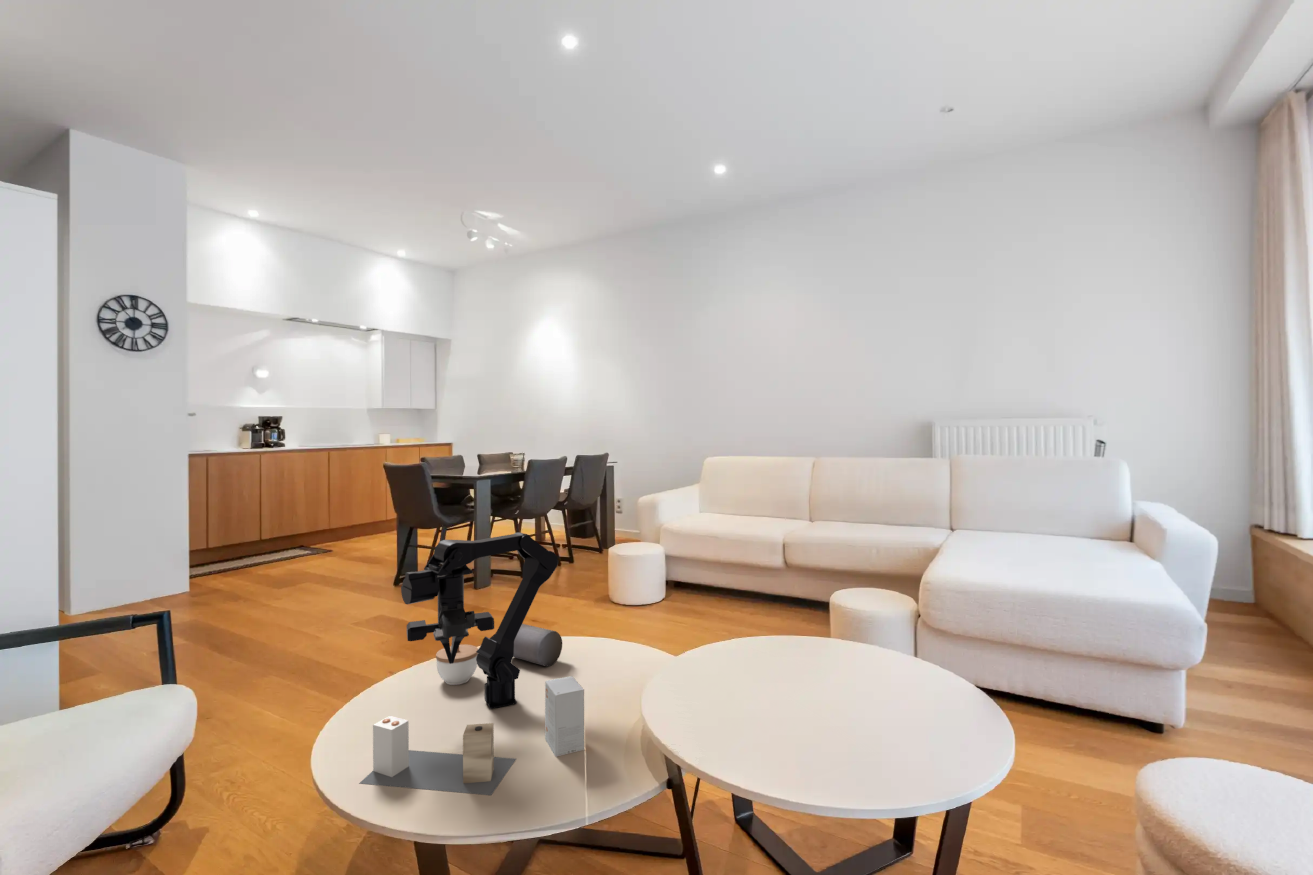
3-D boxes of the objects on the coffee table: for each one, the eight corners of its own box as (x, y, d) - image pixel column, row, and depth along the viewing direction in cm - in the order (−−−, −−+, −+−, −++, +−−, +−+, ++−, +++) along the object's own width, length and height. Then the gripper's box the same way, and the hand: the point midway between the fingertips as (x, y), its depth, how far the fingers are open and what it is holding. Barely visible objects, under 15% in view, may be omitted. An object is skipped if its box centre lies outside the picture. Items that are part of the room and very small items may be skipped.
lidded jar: (458, 669, 164) (458, 635, 164) (486, 676, 159) (486, 642, 159) (427, 683, 155) (426, 648, 155) (456, 691, 150) (456, 655, 150)
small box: (585, 752, 121) (584, 689, 121) (555, 759, 118) (554, 695, 118) (573, 734, 128) (572, 674, 128) (544, 740, 126) (544, 680, 125)
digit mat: (516, 761, 118) (516, 758, 118) (491, 798, 106) (491, 794, 106) (396, 751, 121) (396, 748, 121) (359, 786, 109) (359, 783, 109)
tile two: (390, 760, 117) (389, 714, 117) (408, 766, 115) (408, 719, 115) (373, 770, 113) (372, 723, 113) (391, 777, 111) (391, 728, 111)
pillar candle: (564, 657, 171) (527, 647, 179) (561, 625, 170) (524, 617, 178) (540, 672, 163) (503, 661, 171) (537, 639, 162) (499, 629, 170)
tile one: (467, 771, 113) (466, 723, 113) (493, 768, 114) (493, 721, 114) (463, 783, 109) (462, 734, 109) (490, 780, 110) (490, 732, 110)
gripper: (408, 610, 124) (409, 683, 124) (498, 599, 132) (498, 668, 132) (406, 597, 134) (406, 665, 134) (489, 587, 142) (490, 651, 142)
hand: (451, 662), depth 135 cm, fingers closed
